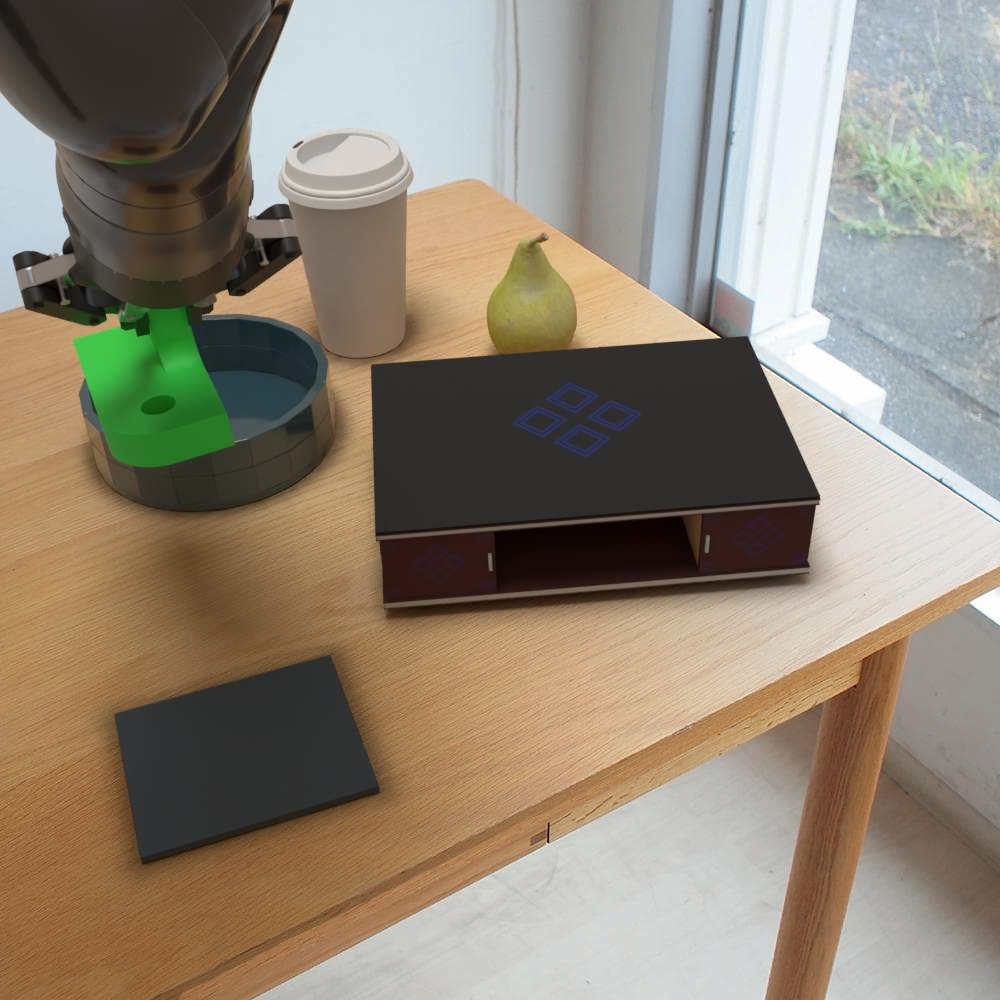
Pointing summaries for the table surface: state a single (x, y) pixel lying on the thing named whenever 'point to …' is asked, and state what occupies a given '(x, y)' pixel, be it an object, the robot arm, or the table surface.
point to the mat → (241, 757)
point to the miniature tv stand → (584, 473)
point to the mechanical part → (154, 392)
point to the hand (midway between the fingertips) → (164, 312)
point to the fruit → (531, 304)
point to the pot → (239, 419)
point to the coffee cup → (352, 235)
